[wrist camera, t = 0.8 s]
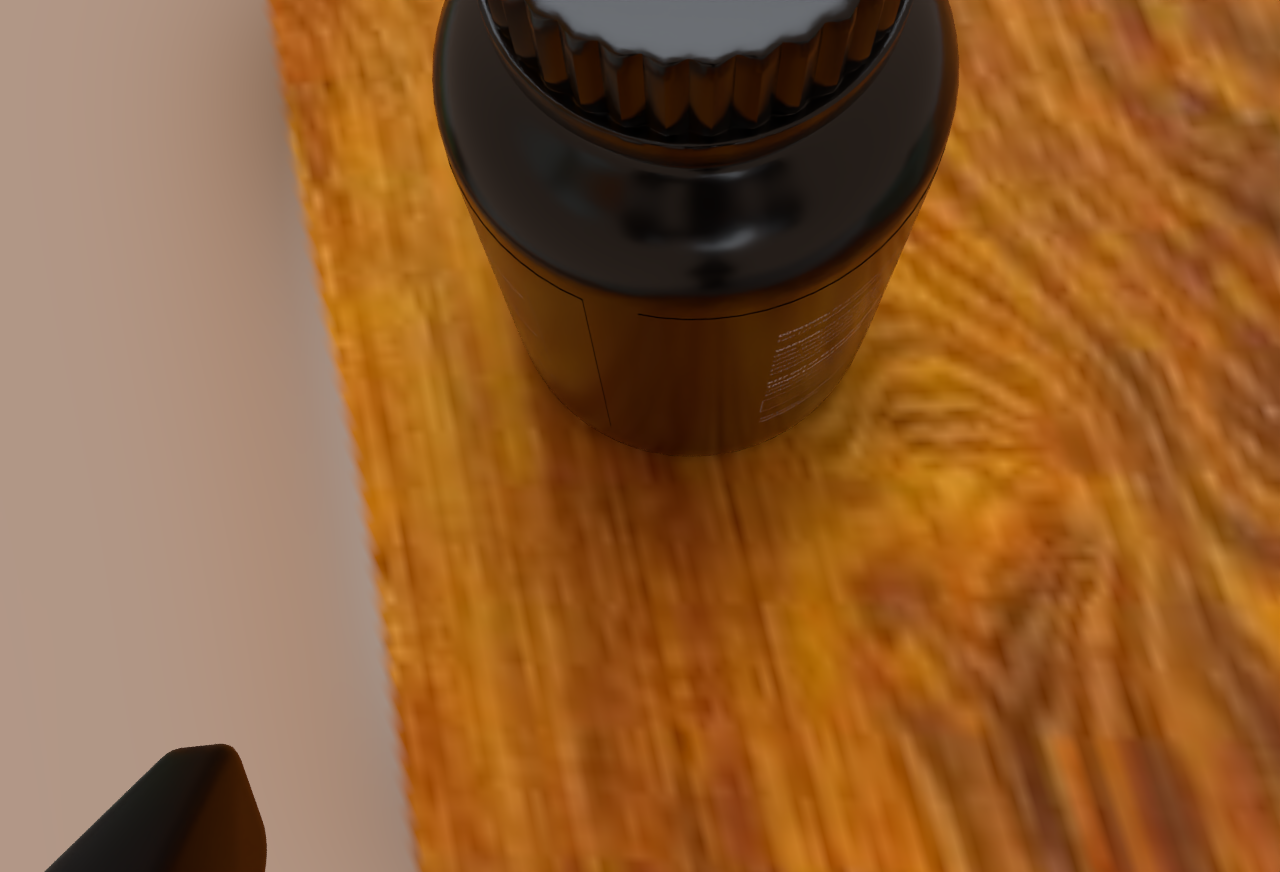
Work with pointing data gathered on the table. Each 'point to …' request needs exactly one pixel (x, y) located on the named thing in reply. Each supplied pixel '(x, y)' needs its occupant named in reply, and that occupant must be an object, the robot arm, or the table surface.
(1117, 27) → the table surface
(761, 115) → the supplement bottle
